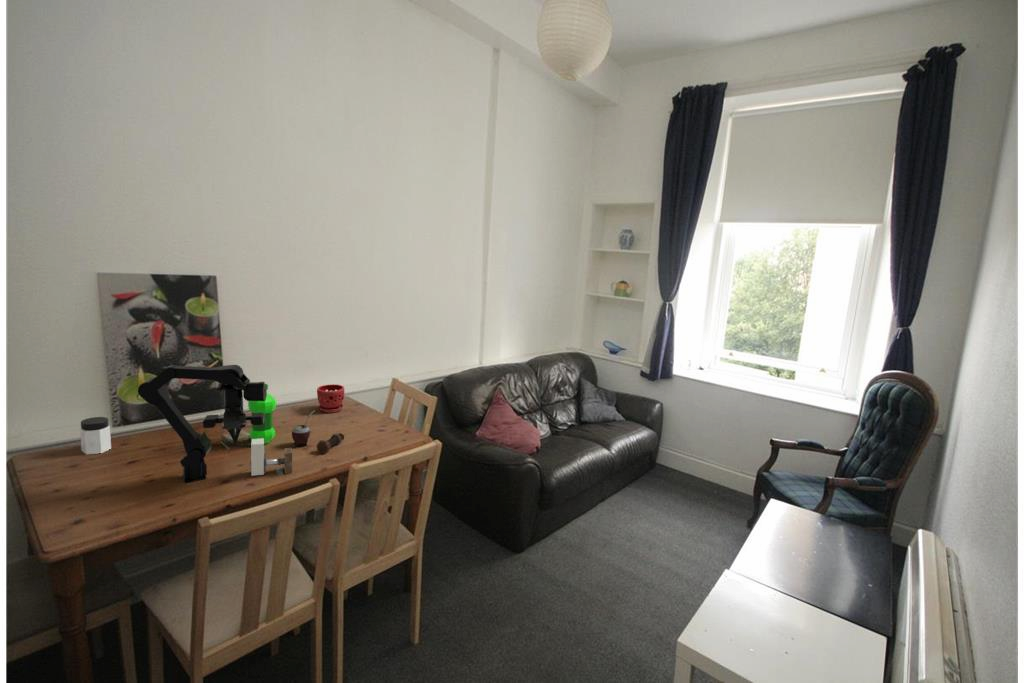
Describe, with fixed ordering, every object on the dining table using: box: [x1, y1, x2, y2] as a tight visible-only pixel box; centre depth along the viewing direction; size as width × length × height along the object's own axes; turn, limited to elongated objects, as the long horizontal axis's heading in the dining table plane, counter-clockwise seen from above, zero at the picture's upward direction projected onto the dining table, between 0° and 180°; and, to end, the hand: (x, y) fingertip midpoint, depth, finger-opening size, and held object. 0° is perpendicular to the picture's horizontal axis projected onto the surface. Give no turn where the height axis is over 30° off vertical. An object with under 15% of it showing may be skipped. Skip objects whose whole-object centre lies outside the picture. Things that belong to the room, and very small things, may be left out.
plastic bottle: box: [247, 383, 277, 445], centre depth 213 cm, size 10×10×25 cm
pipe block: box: [276, 447, 293, 475], centre depth 191 cm, size 5×5×8 cm
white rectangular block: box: [250, 438, 267, 477], centre depth 187 cm, size 5×5×12 cm
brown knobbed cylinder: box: [316, 433, 345, 454], centre depth 217 cm, size 6×5×15 cm
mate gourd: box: [291, 409, 316, 448], centre depth 215 cm, size 8×8×15 cm
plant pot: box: [316, 384, 345, 413], centre depth 260 cm, size 13×13×12 cm
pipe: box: [249, 457, 285, 468], centre depth 189 cm, size 12×3×3 cm, turn 115°
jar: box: [79, 416, 112, 456], centre depth 194 cm, size 9×8×12 cm
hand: (235, 442), depth 183 cm, fingers closed
